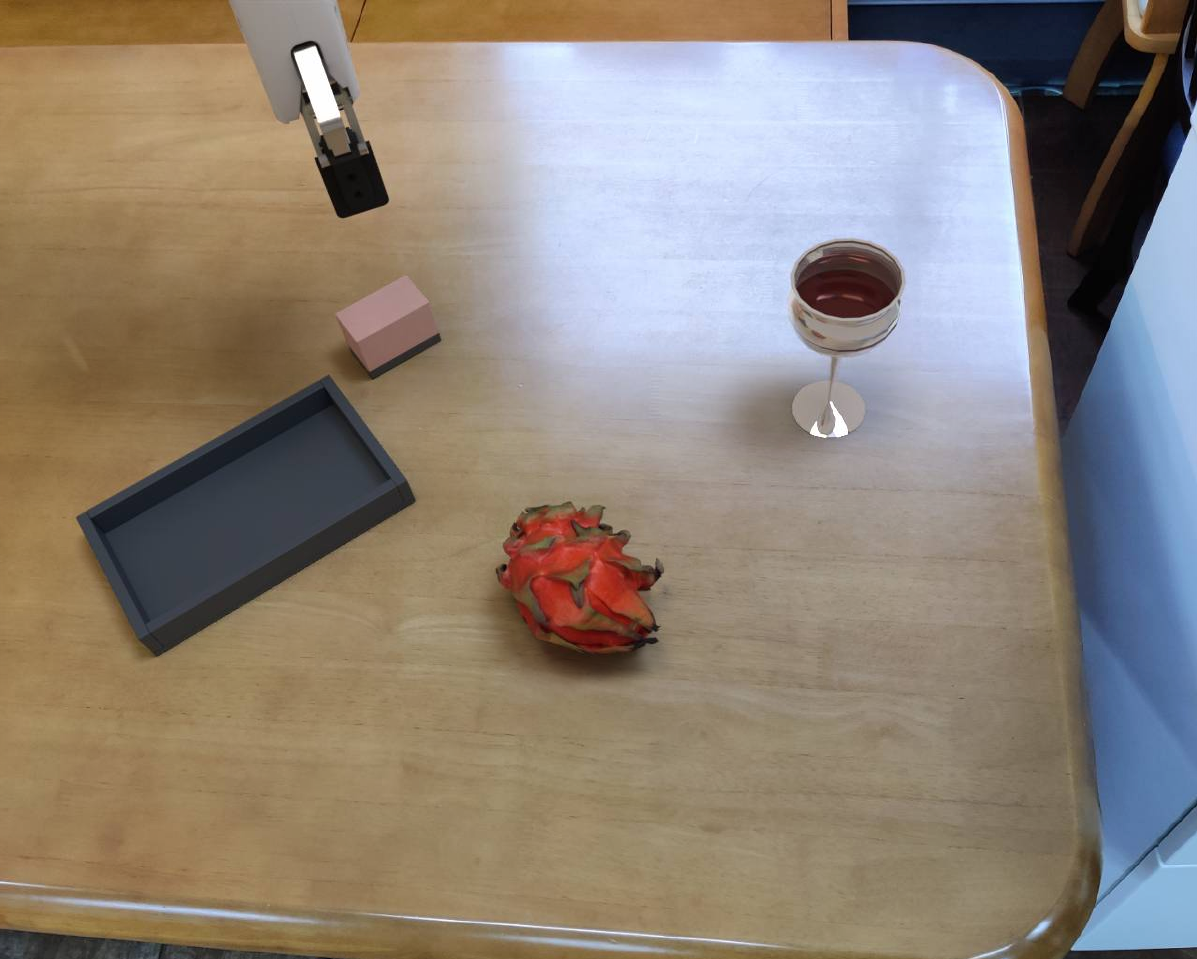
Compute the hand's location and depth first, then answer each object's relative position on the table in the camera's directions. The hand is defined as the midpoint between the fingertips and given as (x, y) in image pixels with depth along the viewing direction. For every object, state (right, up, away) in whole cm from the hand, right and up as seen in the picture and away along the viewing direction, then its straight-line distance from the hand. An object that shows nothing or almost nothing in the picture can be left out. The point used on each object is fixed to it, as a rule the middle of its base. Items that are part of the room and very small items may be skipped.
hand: (346, 158), depth 65 cm
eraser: (0, -8, +14) cm, 17 cm away
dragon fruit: (+15, -28, +2) cm, 32 cm away
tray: (-8, -21, +8) cm, 24 cm away
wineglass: (+31, -14, +8) cm, 35 cm away
